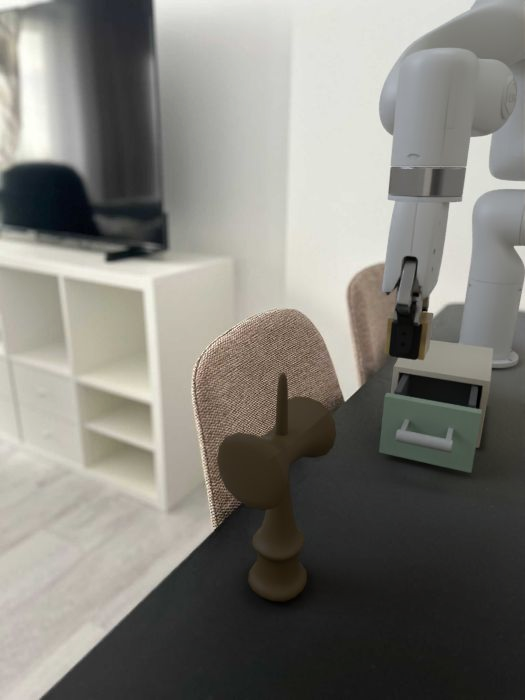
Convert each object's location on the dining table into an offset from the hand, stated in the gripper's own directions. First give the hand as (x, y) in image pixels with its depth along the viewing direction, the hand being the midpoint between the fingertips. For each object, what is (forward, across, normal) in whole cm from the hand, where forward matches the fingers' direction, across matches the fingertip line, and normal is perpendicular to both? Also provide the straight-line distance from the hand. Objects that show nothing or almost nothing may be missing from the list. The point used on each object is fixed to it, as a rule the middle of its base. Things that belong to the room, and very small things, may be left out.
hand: (407, 348), depth 60 cm
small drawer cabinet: (+15, -15, +3) cm, 21 cm away
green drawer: (+14, -4, +3) cm, 15 cm away
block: (0, 0, 0) cm, 0 cm away
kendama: (+15, +25, -5) cm, 30 cm away
